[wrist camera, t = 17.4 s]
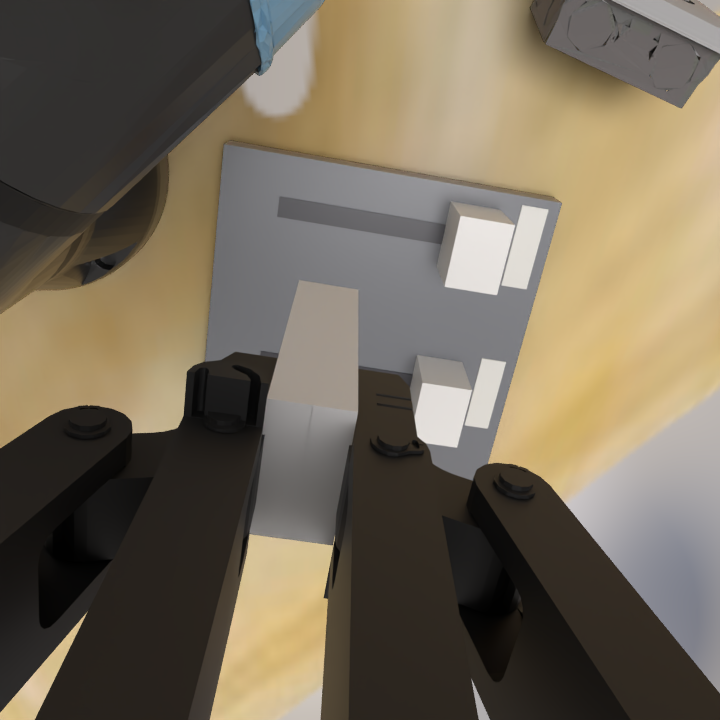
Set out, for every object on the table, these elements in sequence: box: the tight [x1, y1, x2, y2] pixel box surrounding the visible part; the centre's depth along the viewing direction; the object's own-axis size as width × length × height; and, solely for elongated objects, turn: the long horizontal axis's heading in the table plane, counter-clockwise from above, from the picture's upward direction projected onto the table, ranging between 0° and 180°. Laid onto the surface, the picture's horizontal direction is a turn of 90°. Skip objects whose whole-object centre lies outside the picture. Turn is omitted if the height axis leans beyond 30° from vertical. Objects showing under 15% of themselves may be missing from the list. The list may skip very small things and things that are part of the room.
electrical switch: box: [530, 0, 720, 108], centre depth 34 cm, size 9×5×9 cm, turn 68°
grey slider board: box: [205, 140, 562, 481], centre depth 44 cm, size 20×26×6 cm
